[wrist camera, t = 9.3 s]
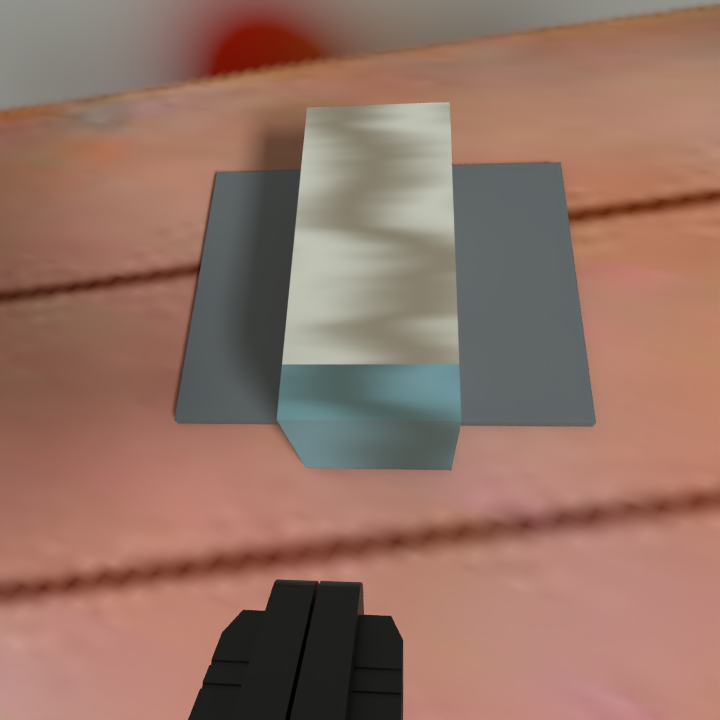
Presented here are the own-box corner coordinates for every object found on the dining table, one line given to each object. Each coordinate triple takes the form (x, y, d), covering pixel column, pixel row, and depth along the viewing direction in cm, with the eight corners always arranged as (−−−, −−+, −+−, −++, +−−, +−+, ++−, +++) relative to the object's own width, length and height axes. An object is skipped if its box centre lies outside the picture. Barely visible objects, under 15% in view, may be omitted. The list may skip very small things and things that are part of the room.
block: (451, 469, 25) (443, 197, 31) (461, 421, 20) (449, 102, 25) (305, 467, 25) (325, 200, 31) (276, 420, 20) (307, 107, 26)
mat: (558, 169, 32) (560, 162, 31) (592, 426, 26) (595, 422, 25) (219, 178, 33) (217, 172, 33) (178, 423, 27) (174, 419, 27)
